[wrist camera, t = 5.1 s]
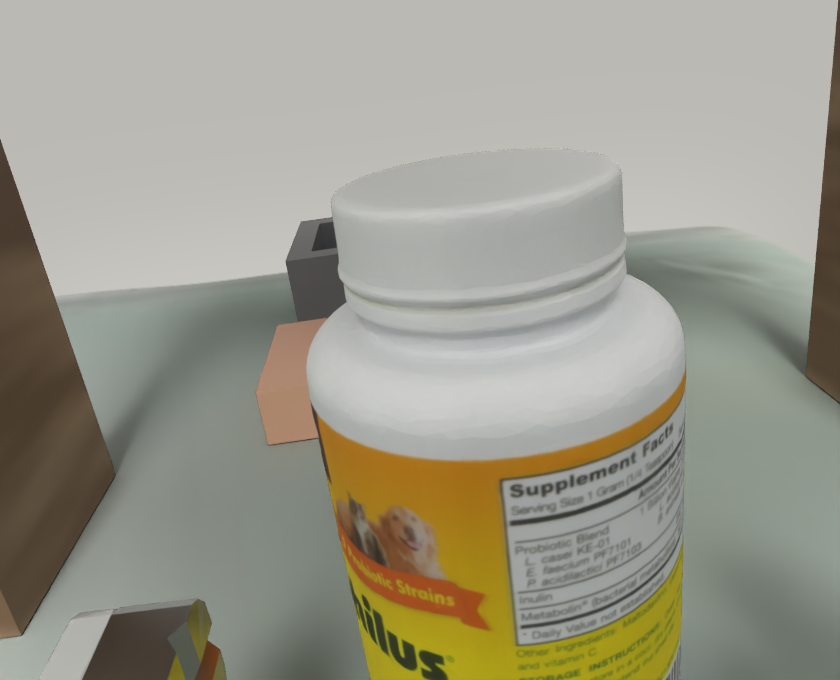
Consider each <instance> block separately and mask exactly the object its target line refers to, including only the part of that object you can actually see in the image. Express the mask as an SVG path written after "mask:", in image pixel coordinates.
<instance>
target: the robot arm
mask: <svg viewBox="0 0 840 680" xmlns="http://www.w3.org/2000/svg"><path fill="white" fill-rule="evenodd" d="M211 624H212V622H211V619H210V616H209V613H208V610H207V607H206V605H205V602H203V601H202V600H200V599H189V600H180V601H171V602H163V603H154V604H145V605H137V606H128V607H120V608H119V609H108V610H100V611H91V612H83V613H79V614H78V615H76V616H75V617H74V618H72V619H71V620H70V621H69V623H68V625H67V627H66V629H65V630H64V632H63V634H62V636H61V638H60V640H59V642H58V644H57V646H56V647H55V649H54V651H53V653H52V655H51V657H50V659H49V661H48V663H47V665H46V666H45V668H44V670H43V672H42V674H41V676H40V678H39V680H227V678H226V671H225V664H224V661H223V657H222V654H221V651H220V649H219V648H217V647H216V646H214V645H213V644H212V643H210V642H209V641H208V640H207V639H208V635H209V631H210V627H211Z"/></svg>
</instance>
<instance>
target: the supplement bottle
mask: <svg viewBox="0 0 840 680" xmlns="http://www.w3.org/2000/svg"><path fill="white" fill-rule="evenodd" d="M331 208H332V217H333V223H334V229H335V236H336V242H337V249H338V257H339V264H338V274H339V278H340V279H341V281H342V282H343V283H344V291H345V298H346V301H347V302H346V303H345V304H343V305H342V306H341V307H340V308H338V309H337V310H336V311H335V312H333V314H332V315H331V316H330V317H329V318H328V319H327V320H326V321H325V322H324V323H323V325H322V326H321V327H320V328H319V330H318V332H317V333H316V335H315V337H314V339H313V341H312V343H311V346H310V348H309V352H308V356H307V364H306V374H307V382H308V388H309V395H310V402H311V407H312V413H313V418H314V422H315V425H316V429H317V434H318V438H319V443H320V448H321V453H322V458H323V462H324V466H325V471H326V476H327V481H328V486H329V490H330V495H331V499H332V504H333V509H334V513H335V518H336V522H337V526H338V533H339V538H340V541H341V545H342V550H343V555H344V559H345V563H346V568H347V573H348V578H349V583H350V587H351V592H352V597H353V600H354V605H355V610H356V615H357V619H358V624H359V629H360V634H361V638H362V643H363V647H364V652H365V657H366V661H367V666H368V670H369V675H370V680H680V653H681V645H680V639H681V615H682V575H683V572H682V566H683V514H684V441H685V380H686V355H685V338H684V333H683V330H682V326H681V322H680V320H679V318H678V316H677V314H676V313H675V311H674V309H673V308H672V306H671V305H670V304H669V303H668V302H667V300H666V299H665V298H664V297H663V296H662V295H661V294H660V293H659V292H657V291H656V290H655V289H654V288H652V287H651V286H649V285H648V284H646V283H645V282H643V281H641V280H639V279H637V278H635V277H633V276H631V275H629V274H626V273H627V267H626V259H625V254H624V252H625V250H626V247H627V237H626V235H625V232H624V223H623V195H622V172H621V169H620V167H619V165H618V164H617V163H616V161H614V160H613V159H611V158H609V157H607V156H605V155H602V154H598V153H592V152H587V151H580V150H571V149H551V148H535V149H534V148H533V149H530V148H529V149H511V150H497V151H485V152H476V153H467V154H459V155H452V156H446V157H440V158H435V159H429V160H424V161H419V162H415V163H410V164H405V165H400V166H396V167H393V168H389V169H385V170H382V171H379V172H375V173H372V174H369V175H367V176H364V177H361V178H359V179H357V180H355V181H353V182H350V183H348V184H346V185H345V186H343V187H342V188H340V189H339V190H338V191H337V192H336V193H335V194H334V195H333V197H332V199H331Z"/></svg>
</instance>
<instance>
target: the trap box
mask: <svg viewBox="0 0 840 680" xmlns="http://www.w3.org/2000/svg"><path fill="white" fill-rule="evenodd" d="M338 264H339V257H338V249H337V242H336V236H335V229H334V223H333V217H331V218H324V219H317V220H310V221H303V222H301V223H300V226H299V228H298V231H297V234H296V236H295V239H294V241H293V244H292V246H291V249H290V251H289V254H288V256H287V259H286V266H287V270H288V275H289V280H290V285H291V289H292V294H293V299H294V304H295V309H296V313H297V318H298V322H301V321H308V320H315V319H322V318H327V319H328V318H329V317H330V316H331V315H332V314H333V312H335V311H336V310H337V309H338V308H340V307H341V306H342V305H343V304H345V303H346V302H347V301H346V298H345V291H344V283H343V282H342V281H341V279H340V278H339V274H338Z"/></svg>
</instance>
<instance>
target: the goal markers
mask: <svg viewBox="0 0 840 680" xmlns="http://www.w3.org/2000/svg"><path fill="white" fill-rule="evenodd" d="M326 320H327V318H322V319H315V320H308V321H301V322H294V323H287V324H280V325H277V328H276V331H275V335H274V338H273V341H272V344H271V347H270V350H269V353H268V356H267V359H266V362H265V365H264V368H263V371H262V374H261V377H260V380H259V383H258V386H257V389H256V397H257V401H258V405H259V409H260V413H261V417H262V421H263V425H264V429H265V434H266V438H267V442H268V445H271V444H278V443H285V442H292V441H299V440H306V439H313V438H318V434H317V429H316V425H315V422H314V418H313V413H312V407H311V402H310V395H309V388H308V382H307V374H306V364H307V356H308V352H309V348H310V346H311V343H312V341H313V339H314V337H315V335H316V333H317V332H318V330H319V328H320V327H321V326H322V325H323V323H324V322H325V321H326Z"/></svg>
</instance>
